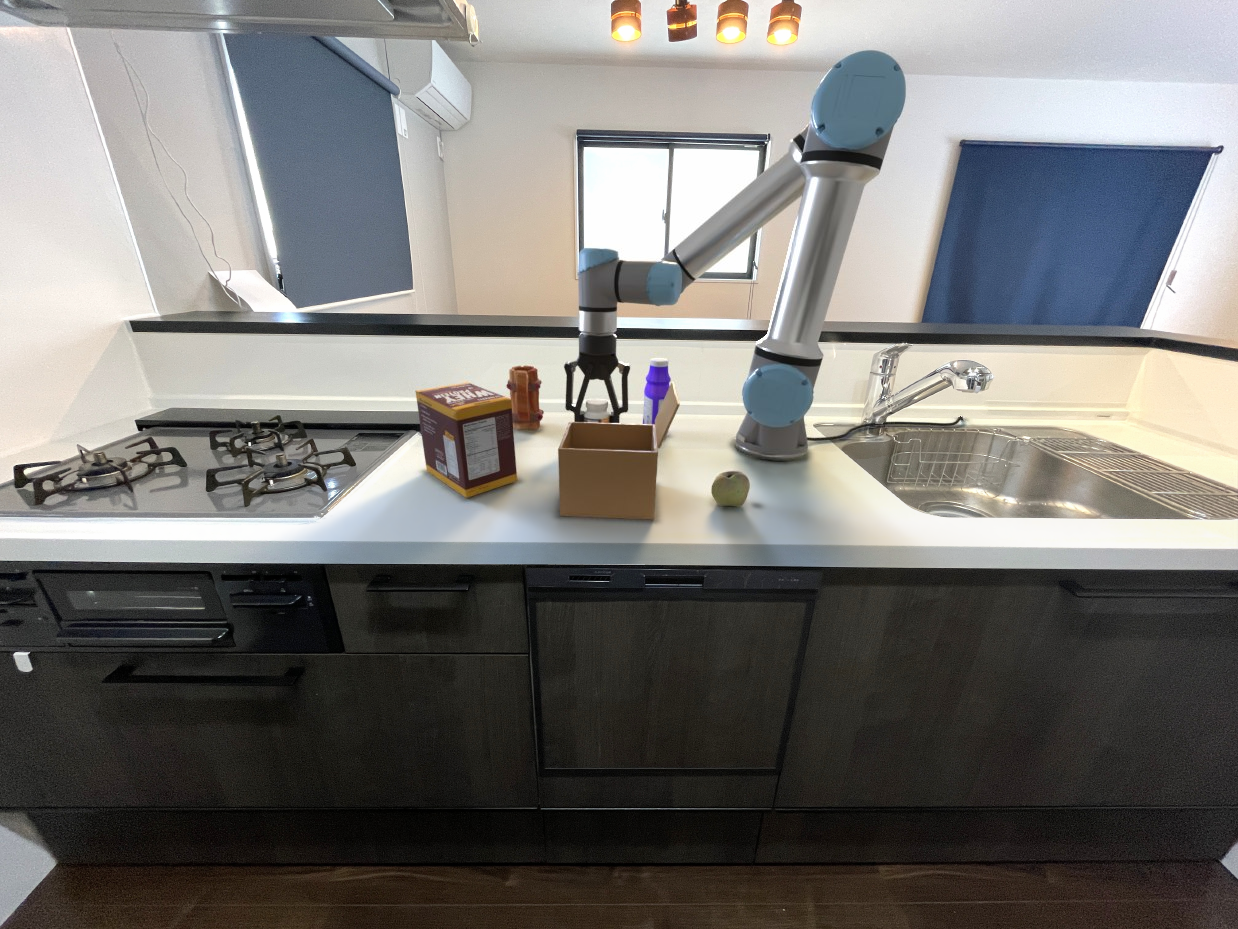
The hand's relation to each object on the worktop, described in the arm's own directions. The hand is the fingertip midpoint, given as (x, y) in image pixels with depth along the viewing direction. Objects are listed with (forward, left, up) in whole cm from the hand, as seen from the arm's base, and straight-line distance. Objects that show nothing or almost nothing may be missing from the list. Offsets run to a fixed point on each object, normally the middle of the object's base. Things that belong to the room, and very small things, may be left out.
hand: (596, 441), depth 107 cm
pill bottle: (0, 0, -1) cm, 1 cm away
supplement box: (+22, +18, -1) cm, 28 cm away
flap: (-13, +25, +15) cm, 32 cm away
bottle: (-13, -9, -1) cm, 16 cm away
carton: (-4, +25, -1) cm, 25 cm away
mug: (+17, -7, -1) cm, 18 cm away
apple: (-25, +25, -1) cm, 35 cm away
